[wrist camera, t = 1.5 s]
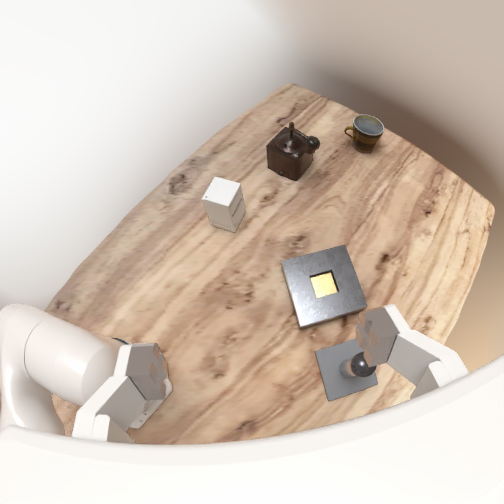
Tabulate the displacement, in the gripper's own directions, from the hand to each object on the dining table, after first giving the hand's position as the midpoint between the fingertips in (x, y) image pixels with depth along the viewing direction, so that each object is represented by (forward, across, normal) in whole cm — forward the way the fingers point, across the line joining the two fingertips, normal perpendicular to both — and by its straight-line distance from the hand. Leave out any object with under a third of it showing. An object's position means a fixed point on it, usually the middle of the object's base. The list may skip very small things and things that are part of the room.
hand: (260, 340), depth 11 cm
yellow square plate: (+43, +18, -36) cm, 59 cm away
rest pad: (+27, +20, -48) cm, 59 cm away
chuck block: (+44, +18, -38) cm, 61 cm away
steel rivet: (+27, +19, -47) cm, 58 cm away
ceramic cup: (+81, +43, -13) cm, 92 cm away
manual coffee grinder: (+76, +20, -18) cm, 81 cm away
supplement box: (+65, -2, -26) cm, 70 cm away
